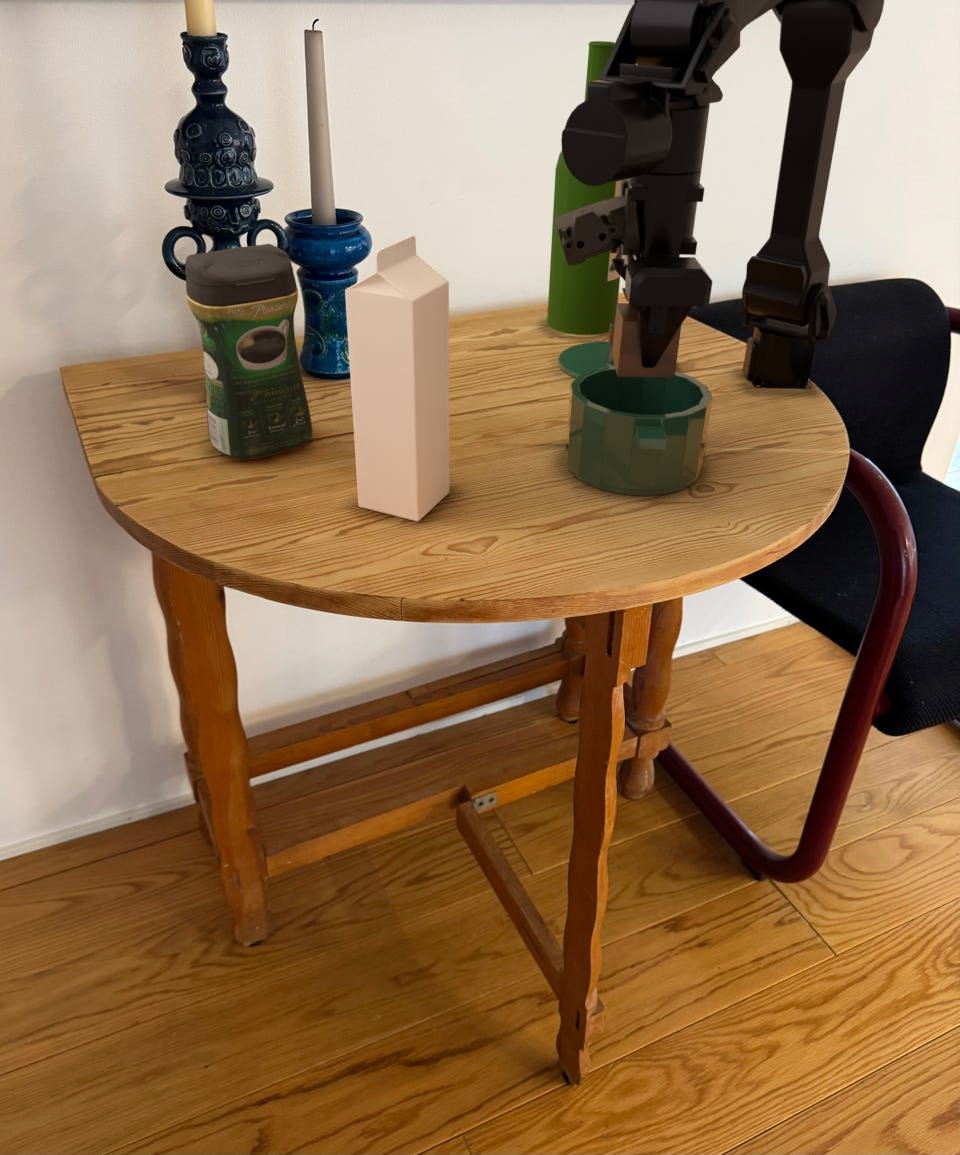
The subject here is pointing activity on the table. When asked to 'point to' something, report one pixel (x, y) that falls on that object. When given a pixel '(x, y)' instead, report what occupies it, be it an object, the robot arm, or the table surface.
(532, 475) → the table surface
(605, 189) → the wine bottle
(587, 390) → the tin
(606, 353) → the lid
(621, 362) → the block
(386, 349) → the milk
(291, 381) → the coffee jar
